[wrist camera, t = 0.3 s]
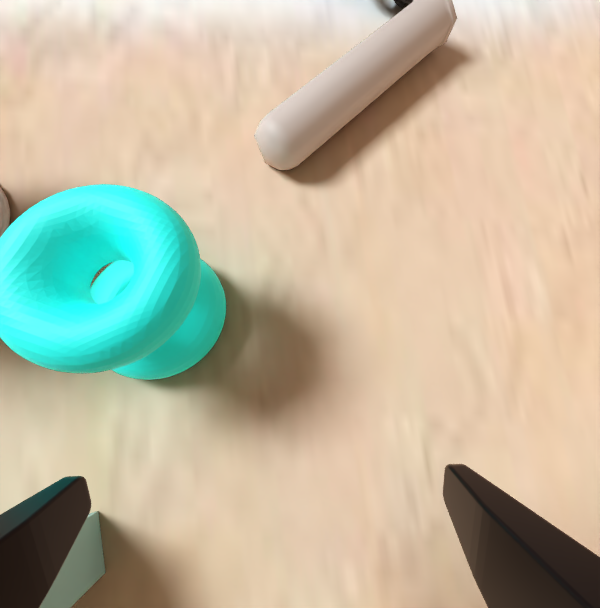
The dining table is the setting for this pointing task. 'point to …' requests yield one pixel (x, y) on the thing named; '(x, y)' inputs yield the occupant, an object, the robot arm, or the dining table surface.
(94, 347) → the donuts
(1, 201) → the chalice
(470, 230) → the dining table surface
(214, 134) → the dining table surface
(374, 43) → the tube
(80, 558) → the slat
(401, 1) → the milk frother
